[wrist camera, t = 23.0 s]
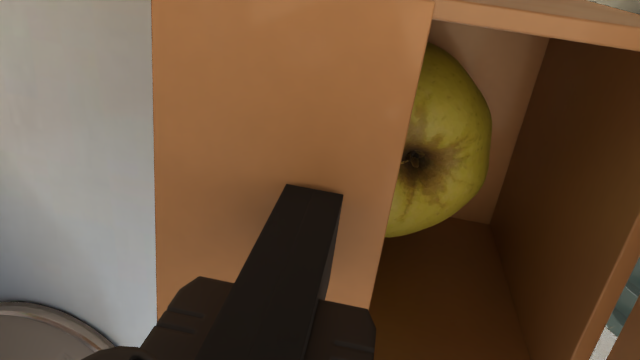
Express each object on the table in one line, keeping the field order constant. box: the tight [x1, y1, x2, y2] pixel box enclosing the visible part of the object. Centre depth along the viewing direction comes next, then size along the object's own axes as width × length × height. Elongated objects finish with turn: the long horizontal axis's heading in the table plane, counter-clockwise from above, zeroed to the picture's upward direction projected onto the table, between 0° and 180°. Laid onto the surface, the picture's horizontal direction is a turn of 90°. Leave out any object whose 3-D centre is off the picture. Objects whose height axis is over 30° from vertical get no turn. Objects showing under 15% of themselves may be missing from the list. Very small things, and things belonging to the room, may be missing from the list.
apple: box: [385, 42, 492, 238], centre depth 20 cm, size 8×8×10 cm
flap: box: [151, 0, 436, 322], centre depth 14 cm, size 6×12×1 cm, turn 172°
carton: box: [369, 0, 640, 360], centre depth 16 cm, size 14×12×19 cm
